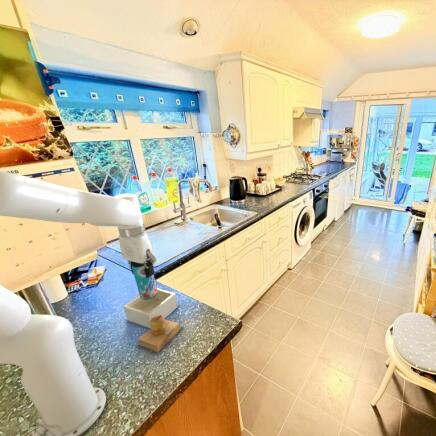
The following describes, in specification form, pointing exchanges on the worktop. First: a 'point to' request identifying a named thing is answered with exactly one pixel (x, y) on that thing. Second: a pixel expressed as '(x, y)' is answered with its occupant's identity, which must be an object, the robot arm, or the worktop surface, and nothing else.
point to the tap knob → (157, 325)
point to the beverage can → (144, 281)
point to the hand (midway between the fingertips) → (143, 273)
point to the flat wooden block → (159, 336)
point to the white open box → (150, 307)
